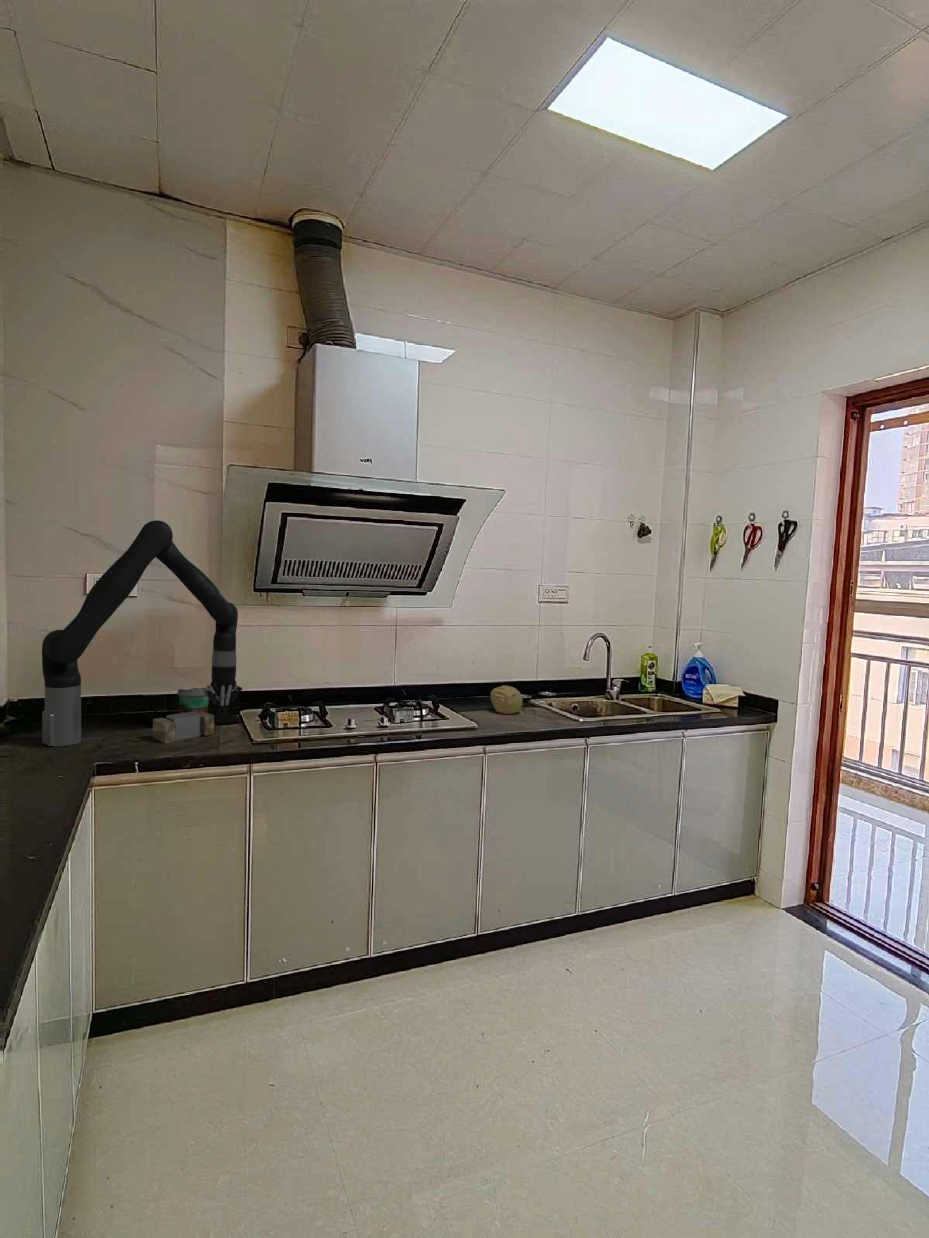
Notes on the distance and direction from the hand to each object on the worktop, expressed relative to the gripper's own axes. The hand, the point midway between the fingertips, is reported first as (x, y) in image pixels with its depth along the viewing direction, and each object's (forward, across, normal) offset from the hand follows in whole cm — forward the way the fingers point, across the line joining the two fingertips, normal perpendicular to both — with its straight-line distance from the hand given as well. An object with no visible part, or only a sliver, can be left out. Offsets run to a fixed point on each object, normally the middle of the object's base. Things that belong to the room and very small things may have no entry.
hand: (222, 716), depth 227 cm
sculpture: (+3, -98, +42) cm, 107 cm away
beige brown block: (+5, +19, 0) cm, 20 cm away
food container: (+5, -4, -22) cm, 23 cm away
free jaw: (+4, +7, 0) cm, 8 cm away
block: (+5, +13, 0) cm, 14 cm away
